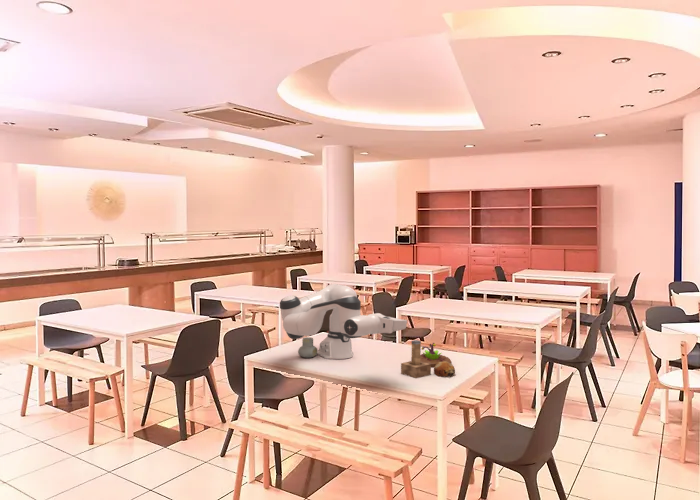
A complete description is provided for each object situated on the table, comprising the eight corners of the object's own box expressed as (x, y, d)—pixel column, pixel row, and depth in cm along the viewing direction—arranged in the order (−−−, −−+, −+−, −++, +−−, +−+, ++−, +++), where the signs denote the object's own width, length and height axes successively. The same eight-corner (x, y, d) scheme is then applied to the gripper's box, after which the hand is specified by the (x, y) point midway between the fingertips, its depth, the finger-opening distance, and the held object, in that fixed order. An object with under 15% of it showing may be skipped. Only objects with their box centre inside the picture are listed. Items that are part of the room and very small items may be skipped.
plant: (420, 369, 257) (421, 347, 257) (407, 359, 276) (407, 339, 276) (457, 367, 262) (458, 345, 262) (442, 357, 281) (442, 337, 281)
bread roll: (453, 380, 251) (451, 363, 254) (458, 376, 242) (456, 359, 245) (433, 380, 251) (431, 363, 254) (437, 376, 241) (435, 359, 244)
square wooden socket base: (401, 373, 248) (401, 363, 248) (415, 370, 255) (415, 360, 255) (416, 378, 241) (416, 367, 241) (430, 374, 247) (430, 364, 247)
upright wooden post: (411, 373, 248) (411, 340, 247) (415, 372, 250) (416, 340, 249) (415, 375, 246) (416, 341, 245) (420, 374, 248) (420, 341, 247)
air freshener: (310, 359, 274) (310, 341, 274) (296, 358, 277) (296, 339, 276) (318, 355, 284) (318, 337, 284) (304, 353, 287) (304, 335, 287)
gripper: (361, 326, 238) (383, 323, 247) (392, 334, 223) (414, 330, 231) (361, 313, 238) (383, 310, 247) (392, 319, 222) (414, 316, 231)
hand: (398, 320), depth 239 cm, fingers open, 8 cm apart
